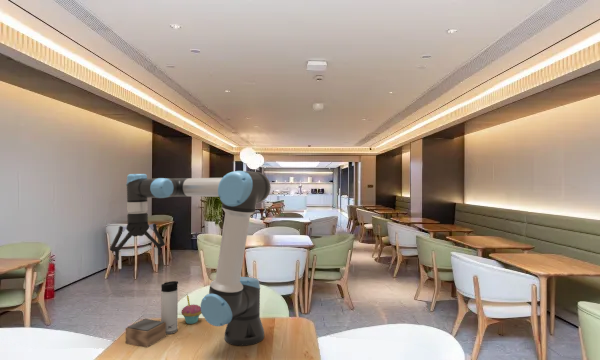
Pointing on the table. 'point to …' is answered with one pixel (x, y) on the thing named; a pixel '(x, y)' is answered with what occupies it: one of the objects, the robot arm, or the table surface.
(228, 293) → the robot arm
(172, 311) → the travel mug
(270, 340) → the table surface
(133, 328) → the walnut stand
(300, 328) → the table surface
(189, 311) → the cupcake
